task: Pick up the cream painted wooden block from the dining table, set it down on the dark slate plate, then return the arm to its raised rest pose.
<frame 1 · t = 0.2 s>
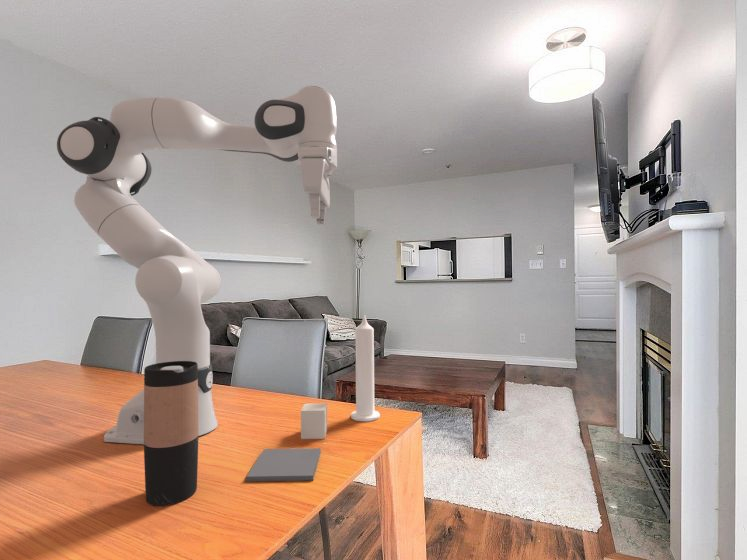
hand: (318, 221, 91), 47 cm above the table, fingers open, 8 cm apart
slate plate: (286, 465, 71), on the table
candle: (365, 417, 98), on the table
cream block: (314, 434, 86), on the table
travel mug: (172, 495, 62), on the table
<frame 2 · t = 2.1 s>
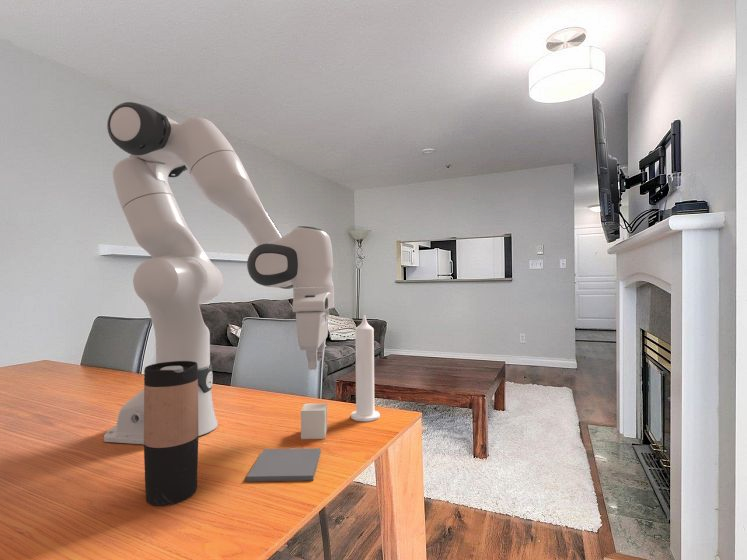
hand: (316, 364, 87), 15 cm above the table, fingers open, 8 cm apart
nothing on the table moved.
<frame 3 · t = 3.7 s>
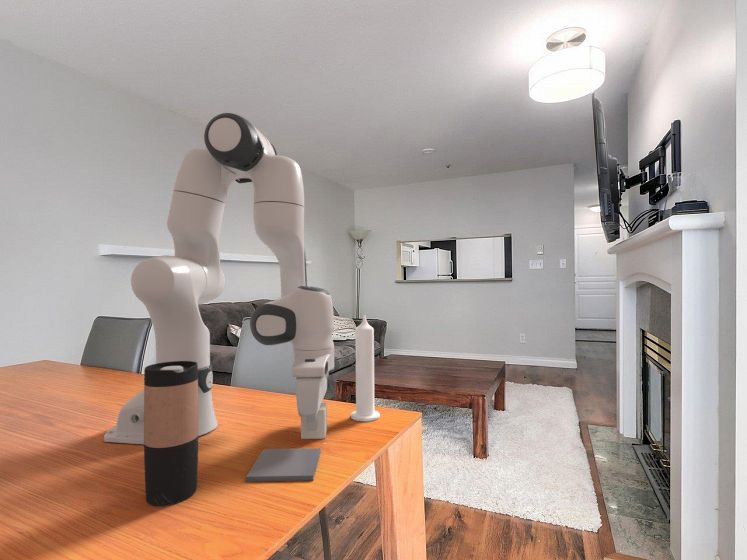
hand: (314, 424, 86), 2 cm above the table, fingers closed on cream block, 5 cm apart
cream block: (314, 434, 86), on the table, touching gripper
everything else where it was.
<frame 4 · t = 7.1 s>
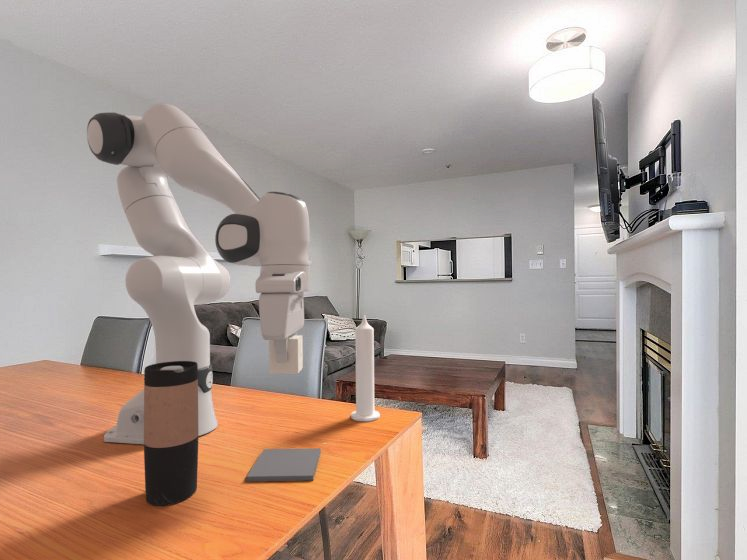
hand: (286, 358, 72), 19 cm above the table, fingers closed on cream block, 5 cm apart
cream block: (286, 370, 72), point 17 cm above the table, touching gripper
everything else where it was.
when the fingers open (4 cm above the table, at t = 10.3 s): cream block drops 1 cm, resting on slate plate.
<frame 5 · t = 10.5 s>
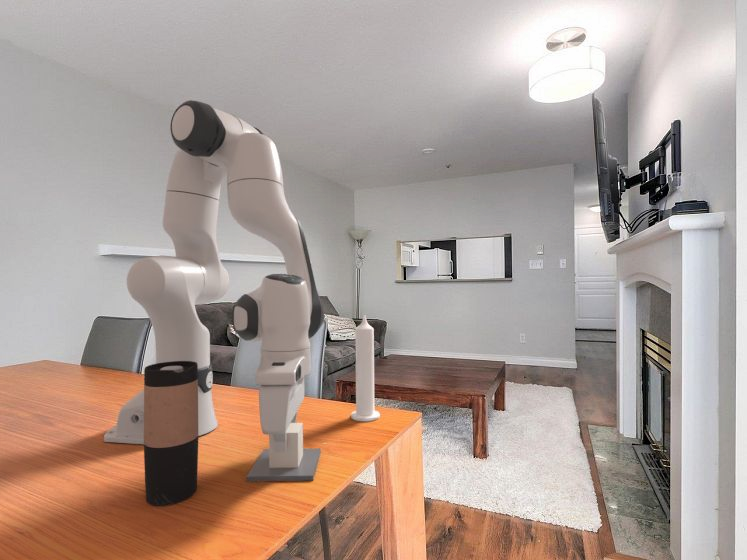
hand: (286, 441, 71), 4 cm above the table, fingers open, 7 cm apart
cream block: (286, 461, 71), point 1 cm above the table, touching slate plate
everything else where it was.
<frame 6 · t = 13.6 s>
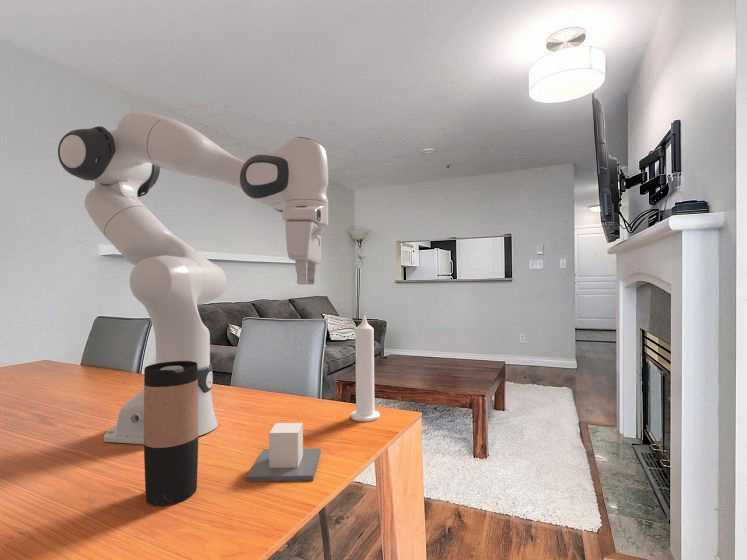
hand: (306, 284, 82), 33 cm above the table, fingers open, 8 cm apart
nothing on the table moved.
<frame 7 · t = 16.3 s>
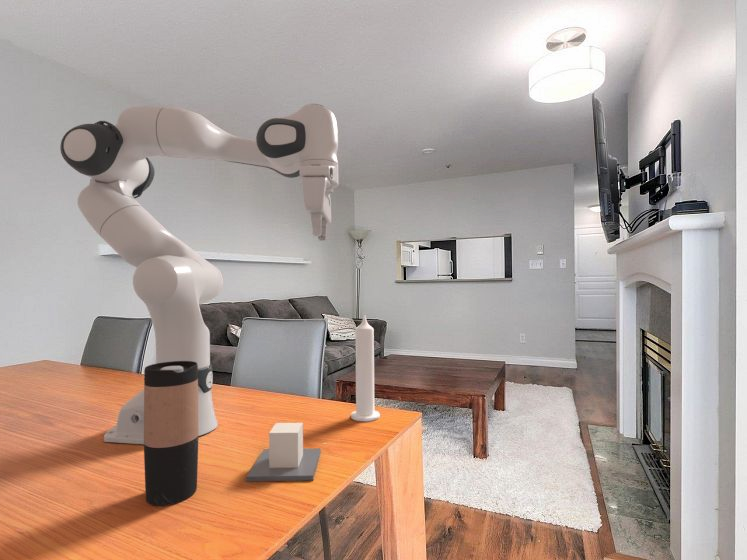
hand: (319, 238, 91), 43 cm above the table, fingers open, 8 cm apart
nothing on the table moved.
at the end: cream block inside the target area on the slate plate (0.0 cm from its centre), point 0.8 cm above the slate plate's base; cream block tilted 0°; the gripper is holding nothing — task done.
